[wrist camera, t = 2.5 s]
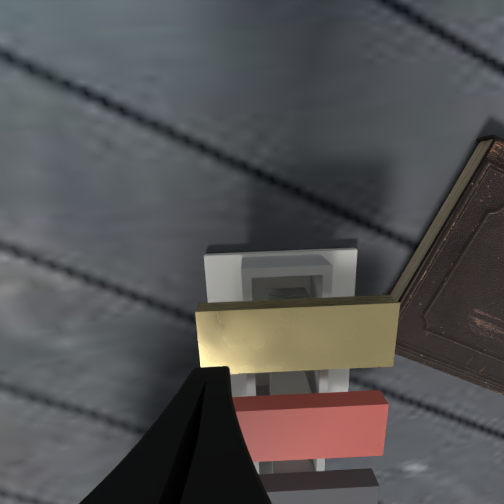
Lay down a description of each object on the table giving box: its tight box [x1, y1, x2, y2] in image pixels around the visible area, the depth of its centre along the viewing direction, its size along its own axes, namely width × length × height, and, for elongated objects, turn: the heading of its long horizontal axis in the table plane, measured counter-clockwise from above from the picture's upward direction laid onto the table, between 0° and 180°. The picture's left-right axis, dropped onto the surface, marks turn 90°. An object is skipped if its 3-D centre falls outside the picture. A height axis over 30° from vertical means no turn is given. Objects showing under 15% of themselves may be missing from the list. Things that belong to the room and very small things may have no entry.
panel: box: [204, 248, 357, 474], centre depth 19 cm, size 18×11×3 cm, turn 2°
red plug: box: [232, 371, 389, 462], centre depth 16 cm, size 4×10×4 cm, turn 92°
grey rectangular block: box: [258, 459, 379, 504], centre depth 17 cm, size 4×10×4 cm, turn 92°
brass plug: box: [195, 287, 400, 374], centre depth 15 cm, size 4×10×4 cm, turn 92°
